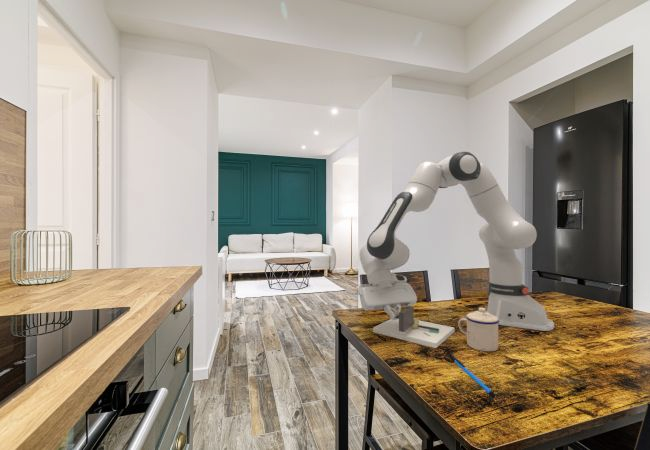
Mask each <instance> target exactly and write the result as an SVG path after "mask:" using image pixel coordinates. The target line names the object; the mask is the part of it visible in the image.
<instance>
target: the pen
mask: <svg viewBox="0 0 650 450" xmlns="http://www.w3.org/2000/svg"><path fill="white" fill-rule="evenodd" d="M452 360H453V362H454V363H455V364H457V366H458V367H460V368H461V369H462V370H463V371H464V372H465V373H466V374H467V375H468V376H469V377H470V378H471V377H472V378H471V379H472V380H474V381H475V382H476V383H477V384H478V385H479V386H480V387H481V388H483V389H484V390H485V392H487V394H489V395H490V396H492V397H494V398H495V399H497V397H496V395H495V393H494V392H493V391H492V390H491V389H490V388H489V387H488V386H486V385H485V383H483V382H482V380H480V379H479V378H478V377H476V375H475V374H473V372H471V371H470V370H469V369H468V368H467V367H466V365H464V364H463V363H462V362H461V361H460V360H458V358H454V357H452Z"/></svg>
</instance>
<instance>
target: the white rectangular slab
mask: <svg viewBox="0 0 650 450" xmlns="http://www.w3.org/2000/svg"><path fill="white" fill-rule="evenodd" d="M419 325H422V326H427V327H432V328H438V329H439V331H435V330H430V329H425V328H411V327H410V328H408V329H407V330H406V331H405V332H401V331H399V319H396V320H392V319H391V318H390V319H387V320H386V321H384V322H382V323H380V324H378V325H376V326H374V327H372V333H375V334H379V335H383V336H386V337H391V338H395V339H397V340H402V341H406V342H409V343H412V344H413V343H414V344H418V345H420V346H421V345H422V346H426V347H428V348H433V349H437V348H438V347H439V346H440V345H442V343H444V342H445V341H446V340H448V338H450V337H451V336H452V335H453V334H454V333H455V331H456V329H455V327H452V326H449V325H443V324H438V323H434V322H429V321H424V320H420V319H419Z"/></svg>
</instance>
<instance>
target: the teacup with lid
mask: <svg viewBox="0 0 650 450" xmlns="http://www.w3.org/2000/svg"><path fill="white" fill-rule="evenodd" d="M486 311H487V308H484V307H479V308H478V310H475V311H472V312H469V313H467V314H466V316H465V317H462V318H459V319H458V323H457V324H458V327H459V330H460V332H461V333H463V334H465V335H466V344H467V346H469V347H470V348H472V349H474V350H476V351H477V350H478V351H481V352H495V351H497V350H498V349H499V324H498V323H499V319H498V318H497V317H496V316H494V315H492V314H490V313H489V312H486ZM463 321H464V322H466V330H465V329H464V328H463V325H462V322H463Z"/></svg>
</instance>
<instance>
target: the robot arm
mask: <svg viewBox="0 0 650 450" xmlns="http://www.w3.org/2000/svg"><path fill="white" fill-rule="evenodd" d="M459 184H460V185H462V186H463V187H464V189H465V191H466V194H467V196H468V197H469V200H470V202H471V203H472V205H473V208H474V210H475V211H476V213H477V214H478V216H480V217H481V218H482V219H484V220H485V221H486V222H484V223H483V224H481V226H480V228H479V231H478V236H479V239H480V240H481V241H482V243H483V245H484V248H485V251H486V255H487V260H488V267H489V282H488V283H487V294H488V302H487V308H486V312H489V313H490V314H492V315H494V316H496V317H497V318H498V319H499V323H498V326H499V325H500V326H503V327H504V326H507V327H513V328H518V329H519V328H520V329H527V330H535V331H543V332H550V331H553V330H554V328H555V323H554V321H553V320H552V319H549V318H548V315H547V312H546V309H545V307H544V306H543V305H542V304H541V303H539V302H538V301H536V300H535V299H534V298H533V297H532V296H531V295H529V292H530V291H529V286H527V285H525V284H523V264H522V262H521V261H520V259H518V257H517V255H516V252H515V250H521V249H526V248H530V247H532V245H534V244H535V242H536V241H537V238H538V236H537V235H538V233H537V232H538V231H537V230H536V227H535V226H534V225H533V224H532V223H530V222H528V221H526V220H525V219H524V218H523V217H522V216H521V215H519V213H518V212H517V211H516V210H515V209H514V208H513V206H512V205H511V204H510V203H509V202H508V200H507V199H506V196H505V195H504V193H503V191H502V189H501V187H500V186H499V183H498V181H497V179H496V177H495V176H494V175H493V173H492V172H491V171H490V169H489V168H488V166H487V165H486V164H484V163H483V162H480V161H479V160H478V158H477V157H476V155H474V154H473V153H471V152H470V151H460V152H456V153H454V154H452V155H449V156H447V157H445V158H443V159H441V161H439V162H437V163H435V162H433V161H424V162H421V163H420V164H419V165H417V167H416V169H414V172H413V173H412V175H411V177H410V179H409V180H408V182H407V185H406V187H405V188H404V190H403V191H402V192H400V193H399V194H397V196H396V197H395V198H394V199H393V200H392V202H391V204H390V206H388V207H389V208H388V209H387V210H386V212H385V214H384V215H383V217H382V218H381V220H380V222H379V223H378V225H377V226H376V227H375V229H373V231H372V232H371V233H370V234H369V236H368V238H367V240H366V241H367V242H366V243H365V245H363V246H362V247H361V249H360V250H359V261H360V264H361V266H362V269H363V272H364V273H365V274H366V280H367V283H365V284H363V283H362V284H359V285H358V286H357V288H356V291H357V293H358V295H359V300H360V304H361V305H360V306H361V308H362V310H364V311H365V312H367V311H376V310H377V311H378V310H384V312H385V313H386V314H387V315H388V316H389V317H390V319H392V320H396V319H399V312H400V311H402V310H401V309H402V308H403V307H405V308H407V307H408V306H411V307H414V306H415V304H416V303H417V301H418V296H417V294H416V292H415V291H414V288H413V287H412V286H411V284H410V283H408V282H407V281H408V279H407V277H406V276H405V275H402V274H398V273H394V272H391V271H392V270H396V269H398V268H400V267H403V266H404V265H405V264H406V263H407V262H408V261H409V258H410V249H409V246H407V244H405V243H404V242H403V241H401V240H400V239H399V238H397V237H396V232H397V230H398V227H400V224H401V223H402V221H403V219H404V217H405V216H406V214H407V213H409V212H415V213H421V212H424V211H426V210H428V209H429V208H430V207H431V205H432V204H433V202H434V200H435V197H436V195H437V193H438V191H439V189H446V188H449V187H454V186H458V185H459ZM390 308H394V309H395V310H397V311H393V310H391V309H390Z"/></svg>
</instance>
